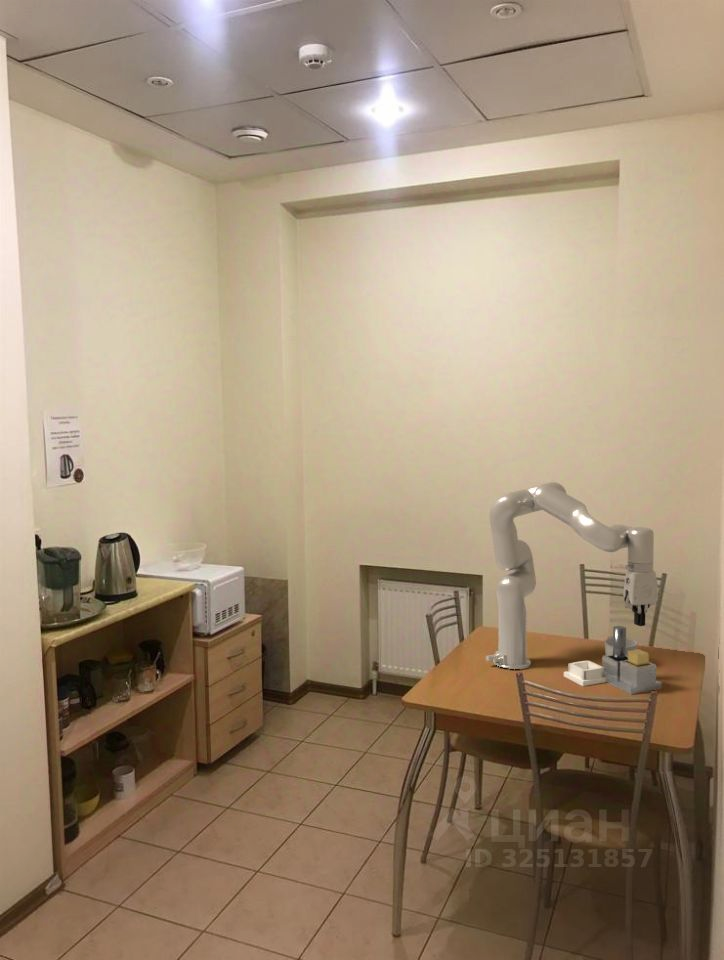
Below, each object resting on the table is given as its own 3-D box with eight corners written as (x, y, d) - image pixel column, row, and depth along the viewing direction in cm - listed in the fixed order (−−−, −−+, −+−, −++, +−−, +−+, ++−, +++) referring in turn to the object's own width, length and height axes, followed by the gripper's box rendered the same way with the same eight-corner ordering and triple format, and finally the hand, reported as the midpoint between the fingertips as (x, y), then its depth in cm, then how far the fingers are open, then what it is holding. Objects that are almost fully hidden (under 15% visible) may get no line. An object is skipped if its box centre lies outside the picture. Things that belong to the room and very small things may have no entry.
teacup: (642, 668, 262) (642, 645, 261) (610, 669, 262) (610, 646, 261) (627, 655, 276) (628, 633, 275) (597, 656, 276) (597, 634, 275)
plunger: (637, 673, 241) (637, 655, 241) (627, 669, 245) (627, 651, 245) (648, 671, 243) (648, 653, 242) (638, 667, 247) (639, 649, 246)
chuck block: (630, 694, 239) (631, 669, 238) (594, 676, 255) (594, 652, 254) (661, 688, 243) (662, 664, 242) (623, 671, 259) (624, 648, 259)
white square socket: (582, 686, 246) (583, 672, 246) (563, 676, 256) (563, 662, 255) (608, 681, 250) (608, 668, 250) (588, 672, 259) (588, 658, 259)
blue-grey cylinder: (618, 675, 250) (618, 630, 249) (609, 671, 254) (610, 626, 252) (628, 673, 252) (628, 628, 250) (619, 669, 255) (620, 625, 254)
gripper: (629, 571, 235) (628, 631, 236) (668, 567, 240) (667, 625, 242) (612, 567, 242) (612, 624, 243) (650, 563, 247) (649, 619, 249)
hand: (639, 624), depth 243 cm, fingers closed
